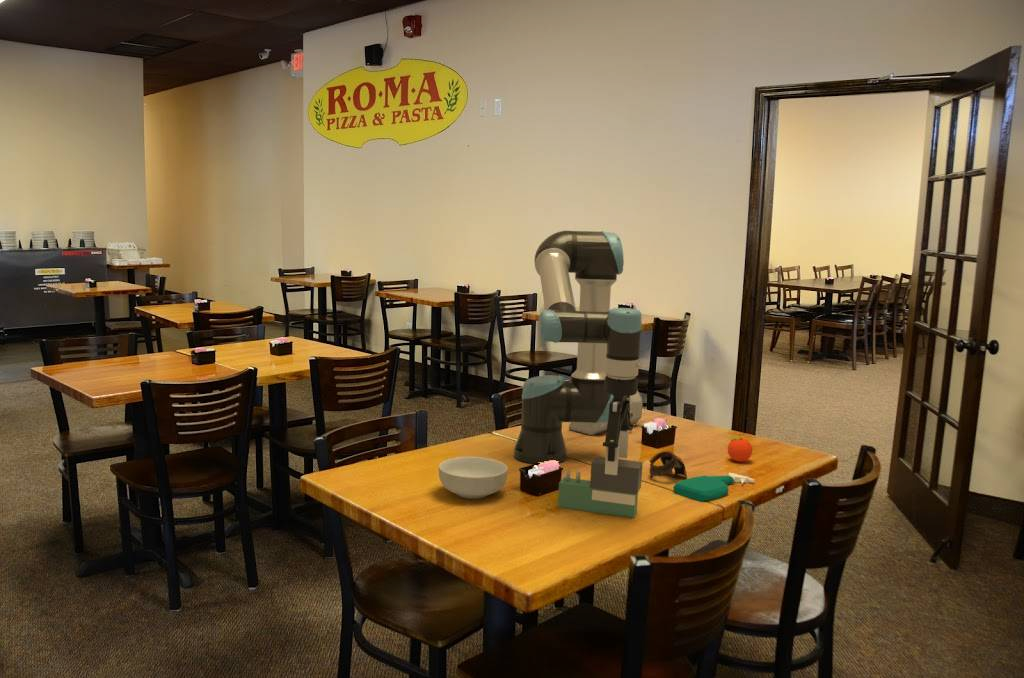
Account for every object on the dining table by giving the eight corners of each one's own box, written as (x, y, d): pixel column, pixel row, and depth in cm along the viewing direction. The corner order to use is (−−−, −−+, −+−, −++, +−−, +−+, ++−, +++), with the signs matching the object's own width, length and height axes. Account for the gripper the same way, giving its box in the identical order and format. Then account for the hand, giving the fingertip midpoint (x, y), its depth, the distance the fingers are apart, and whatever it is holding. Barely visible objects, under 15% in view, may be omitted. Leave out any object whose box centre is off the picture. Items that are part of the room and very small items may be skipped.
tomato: (721, 462, 232) (723, 438, 231) (724, 456, 238) (726, 432, 237) (750, 466, 229) (752, 441, 228) (752, 460, 235) (754, 436, 234)
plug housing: (590, 487, 186) (591, 462, 185) (594, 480, 191) (596, 456, 190) (637, 494, 183) (638, 468, 182) (641, 486, 188) (642, 462, 187)
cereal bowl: (454, 509, 186) (455, 479, 185) (427, 487, 201) (428, 460, 200) (518, 499, 194) (519, 471, 193) (488, 479, 209) (489, 453, 208)
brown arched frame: (692, 485, 211) (681, 461, 208) (659, 498, 213) (647, 474, 210) (685, 461, 222) (674, 437, 219) (653, 473, 224) (641, 450, 221)
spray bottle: (668, 493, 204) (724, 477, 220) (705, 505, 196) (759, 487, 212) (669, 481, 204) (724, 466, 220) (705, 493, 196) (760, 476, 212)
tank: (606, 440, 251) (608, 401, 249) (567, 430, 262) (569, 393, 261) (652, 428, 269) (655, 392, 267) (615, 419, 280) (617, 384, 278)
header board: (557, 507, 190) (559, 472, 188) (562, 501, 194) (564, 467, 193) (633, 518, 184) (635, 482, 183) (636, 511, 189) (639, 476, 188)
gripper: (628, 388, 171) (623, 484, 174) (645, 368, 194) (640, 452, 198) (594, 385, 173) (589, 479, 176) (615, 365, 196) (610, 448, 200)
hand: (616, 465), depth 187 cm, fingers open, 13 cm apart
